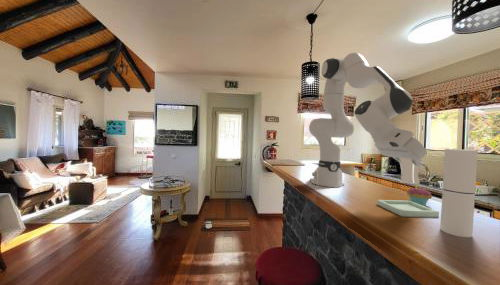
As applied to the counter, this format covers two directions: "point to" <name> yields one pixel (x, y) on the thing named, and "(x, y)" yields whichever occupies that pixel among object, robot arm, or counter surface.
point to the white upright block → (409, 171)
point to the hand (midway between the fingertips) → (411, 164)
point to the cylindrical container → (458, 192)
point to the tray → (407, 208)
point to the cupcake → (419, 195)
